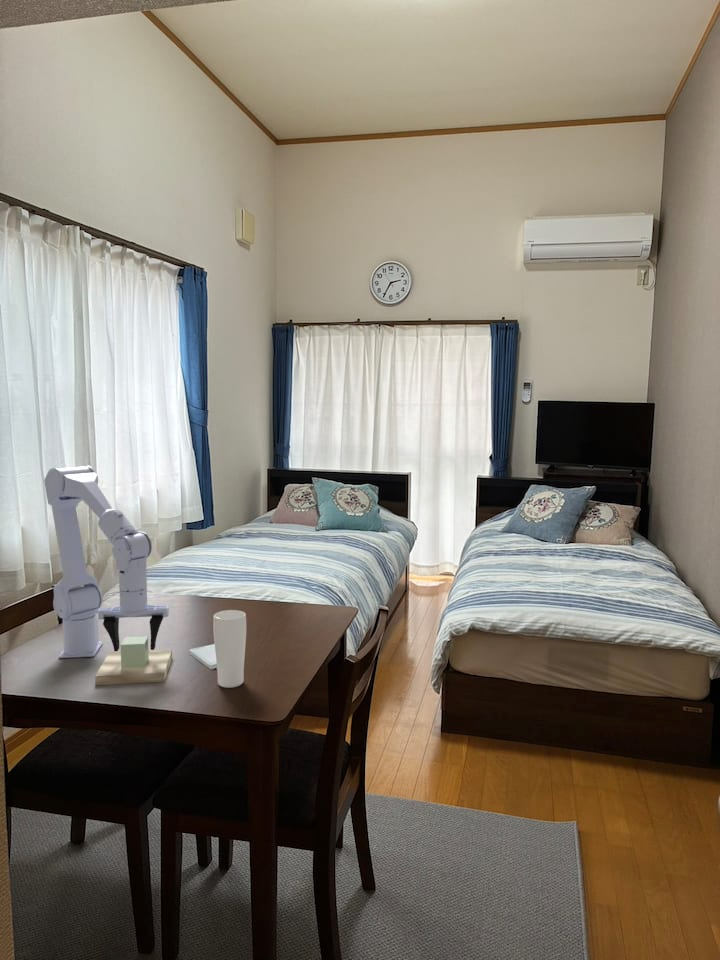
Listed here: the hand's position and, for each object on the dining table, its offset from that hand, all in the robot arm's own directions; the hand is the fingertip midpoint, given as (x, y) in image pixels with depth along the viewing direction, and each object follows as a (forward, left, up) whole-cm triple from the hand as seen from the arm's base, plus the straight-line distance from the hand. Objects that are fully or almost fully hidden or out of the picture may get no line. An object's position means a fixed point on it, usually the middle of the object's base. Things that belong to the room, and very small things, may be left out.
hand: (135, 649), depth 153 cm
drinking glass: (+10, +21, -5) cm, 24 cm away
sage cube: (0, 0, -3) cm, 3 cm away
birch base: (0, 0, -5) cm, 5 cm away
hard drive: (-6, +17, -6) cm, 19 cm away
